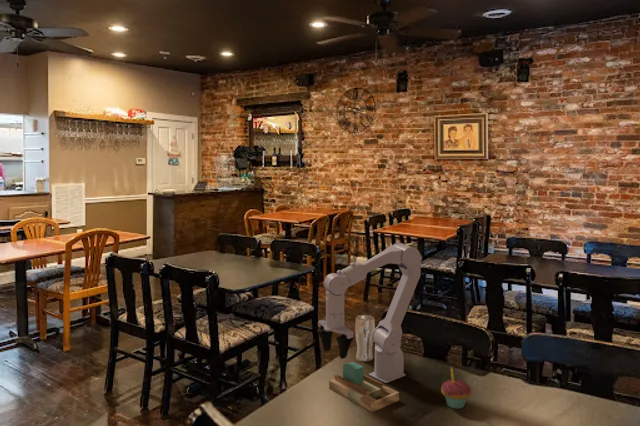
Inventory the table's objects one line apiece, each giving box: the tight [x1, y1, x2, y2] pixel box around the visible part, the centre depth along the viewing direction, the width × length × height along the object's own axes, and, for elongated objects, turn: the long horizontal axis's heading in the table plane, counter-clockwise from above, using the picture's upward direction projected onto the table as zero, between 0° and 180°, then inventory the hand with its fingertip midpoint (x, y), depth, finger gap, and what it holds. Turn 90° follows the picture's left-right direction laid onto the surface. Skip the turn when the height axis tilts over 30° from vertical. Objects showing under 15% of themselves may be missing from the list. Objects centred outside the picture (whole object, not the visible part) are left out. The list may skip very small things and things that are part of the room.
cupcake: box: [440, 366, 472, 410], centre depth 148 cm, size 9×8×12 cm
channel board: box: [328, 374, 400, 413], centre depth 154 cm, size 11×19×4 cm, turn 39°
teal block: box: [342, 361, 365, 385], centre depth 158 cm, size 4×5×5 cm
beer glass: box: [354, 314, 376, 363], centre depth 181 cm, size 7×7×15 cm
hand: (335, 354), depth 161 cm, fingers open, 7 cm apart
